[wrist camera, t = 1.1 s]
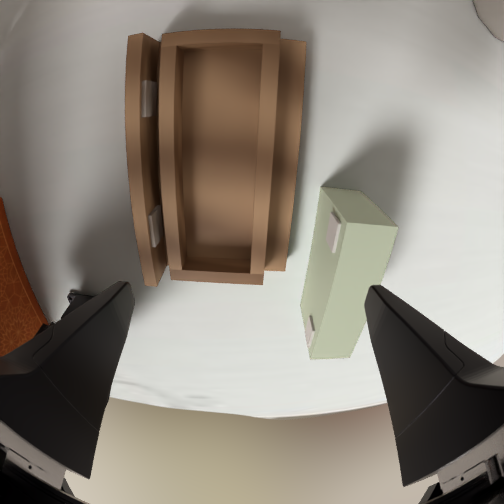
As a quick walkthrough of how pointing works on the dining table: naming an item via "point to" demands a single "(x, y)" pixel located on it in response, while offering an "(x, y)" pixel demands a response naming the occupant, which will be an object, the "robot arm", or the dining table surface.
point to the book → (15, 295)
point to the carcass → (213, 151)
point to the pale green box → (343, 270)
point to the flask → (492, 16)
